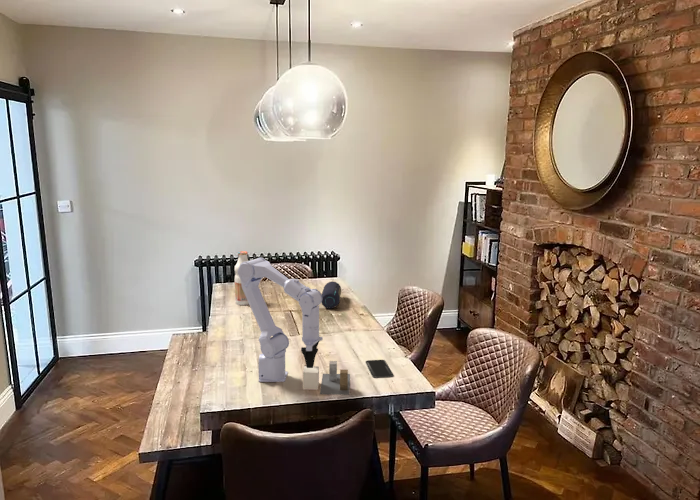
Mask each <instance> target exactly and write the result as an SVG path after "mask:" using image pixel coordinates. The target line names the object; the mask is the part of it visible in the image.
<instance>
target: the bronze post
mask: <svg viewBox="0 0 700 500" xmlns="http://www.w3.org/2000/svg"><path fill="white" fill-rule="evenodd" d="M348 370H349V369H339V374H340V390H348V374H349V371H348Z"/></svg>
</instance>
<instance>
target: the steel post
mask: <svg viewBox="0 0 700 500" xmlns="http://www.w3.org/2000/svg"><path fill="white" fill-rule="evenodd" d="M328 365H329V367H328V368H329V369H328V370H329V371H328V374H329V381H337V374H338V362H337V360H330V361H329V364H328Z"/></svg>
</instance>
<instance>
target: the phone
mask: <svg viewBox="0 0 700 500" xmlns="http://www.w3.org/2000/svg"><path fill="white" fill-rule="evenodd" d="M365 365H366V366H367V369H368V370H369V372H370V374H371V377H372V378H374V379H383V378H393V377H394V373H393V372H392V370H391V369H390V367H389V365H388V363H387V362H386V360H385V359H370V360H369V359H368V360H365Z"/></svg>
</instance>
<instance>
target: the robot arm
mask: <svg viewBox="0 0 700 500" xmlns="http://www.w3.org/2000/svg"><path fill="white" fill-rule="evenodd" d="M238 275H239V277H240V279H241V285H242V289H243V291H244V294H245V296H246V298H247V300H248V303H249V305H248V306H250V309H251V311H252V312H251V313H252V314H253V316H254V320H255V321H256V323H257V325H258V327H259V330H260V335H259V338H258V342H259V344H260V345H259V347H260V348H259V349H260V352H261V353H259V357H258V382H259V383H260V382H261V383H262V382H263V383H264V382H266V383H267V382H268V383H278V382H279V383H280V382H281V383H282V382H283V383H285V382H286V379H287V377H288V374H289V372H288V371H286V352H287V349H288V348H289V346H290V340H289V337H288V336H287V334H285V333H284V331H283V329H282V328H280V327H279V326H277V325H276V324H275V321H274V318H273V317H272V314H271V313H270V312H271V311H270V310H269V308H268V305H267V303H266V301H265V299H264V296H263V294H262V291H261V289H260V287H259V285H260V282H261V280H262V279H263V278H267V280H270V281H272V282H273V283H275V284H276V285H278V286H280V287H282V288H283V291H284V293H285V294H287V295H288V296H289V297H291V298H293V299H294V300H295V301H297V302H298V305H299V307H300V308H301V309H300V310H301V314H302V317H301V318H302V319H301V321H302V324H301V325H302V326H301V327H302V328H301V330H302V337H301V341H302V343H303V344H304V345H305V347H303V346H302V347H301V348H300V352H301V354H302V356H303V357H304V361H305V366H307V368H313V366H315V359H316V355H317V353H318V352H319V348H318V345H319V342H320V341H323V338H324V337H323V336H320V305H321V304H322V293H321V291H319V290H318V289H317V288H310V287H309V286H306V285H305V284H303V283H301V282H300V279H298V278H288V277H287V276H286V275H284V274H283V273H282V272H280V271H279V270H278V269H276V268H275V267H274V266H272V265H271V262H270V261H268V260H266V259H265V258H263V257H262V256H261V257H257V258H255V259H251V260H248V261H247V262H242V263H241V264H240V266H239V269H238Z"/></svg>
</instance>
